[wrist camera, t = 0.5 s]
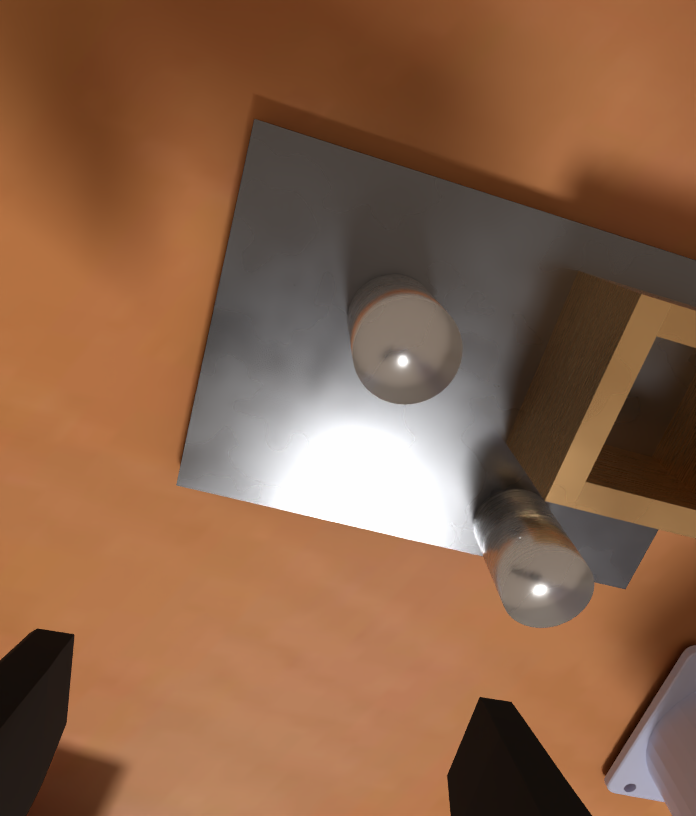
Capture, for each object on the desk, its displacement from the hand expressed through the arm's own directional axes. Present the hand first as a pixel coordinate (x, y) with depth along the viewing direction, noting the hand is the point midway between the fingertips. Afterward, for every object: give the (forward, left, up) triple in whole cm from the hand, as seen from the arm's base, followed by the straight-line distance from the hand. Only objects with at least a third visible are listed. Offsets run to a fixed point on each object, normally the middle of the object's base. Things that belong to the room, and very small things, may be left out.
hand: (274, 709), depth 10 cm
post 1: (-1, -6, -10) cm, 11 cm away
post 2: (-7, 0, -10) cm, 12 cm away
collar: (-9, -6, -9) cm, 14 cm away
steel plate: (-4, -4, -10) cm, 12 cm away
